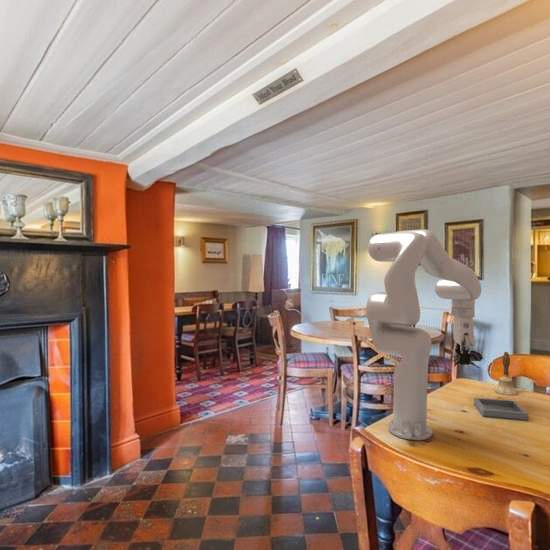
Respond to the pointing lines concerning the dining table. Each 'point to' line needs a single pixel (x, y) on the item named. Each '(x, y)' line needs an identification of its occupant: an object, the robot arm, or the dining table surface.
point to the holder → (500, 409)
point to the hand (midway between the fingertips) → (462, 361)
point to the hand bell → (506, 379)
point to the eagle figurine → (473, 357)
